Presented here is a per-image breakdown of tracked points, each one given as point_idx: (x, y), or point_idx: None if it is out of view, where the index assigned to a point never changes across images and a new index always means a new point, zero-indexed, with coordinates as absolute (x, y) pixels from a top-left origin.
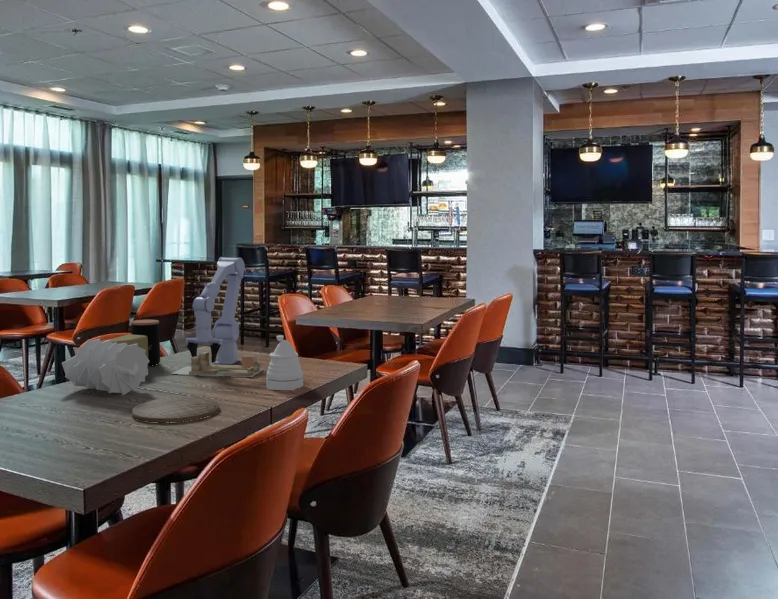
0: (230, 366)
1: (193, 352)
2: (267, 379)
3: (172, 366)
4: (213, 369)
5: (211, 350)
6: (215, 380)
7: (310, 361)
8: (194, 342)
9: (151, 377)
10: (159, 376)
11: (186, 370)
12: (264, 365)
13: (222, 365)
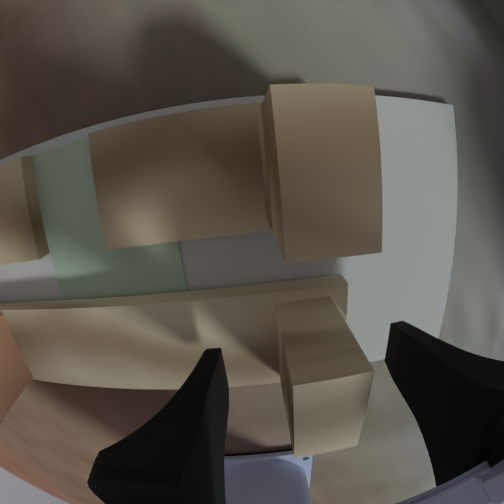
0: (84, 346)
1: (443, 368)
2: None
3: (492, 331)
4: (148, 233)
5: (190, 430)
6: (48, 32)
7: (19, 470)
8: (486, 470)
9: (486, 36)
10: (472, 57)
11: (406, 233)
12: (65, 445)
13: (158, 368)
